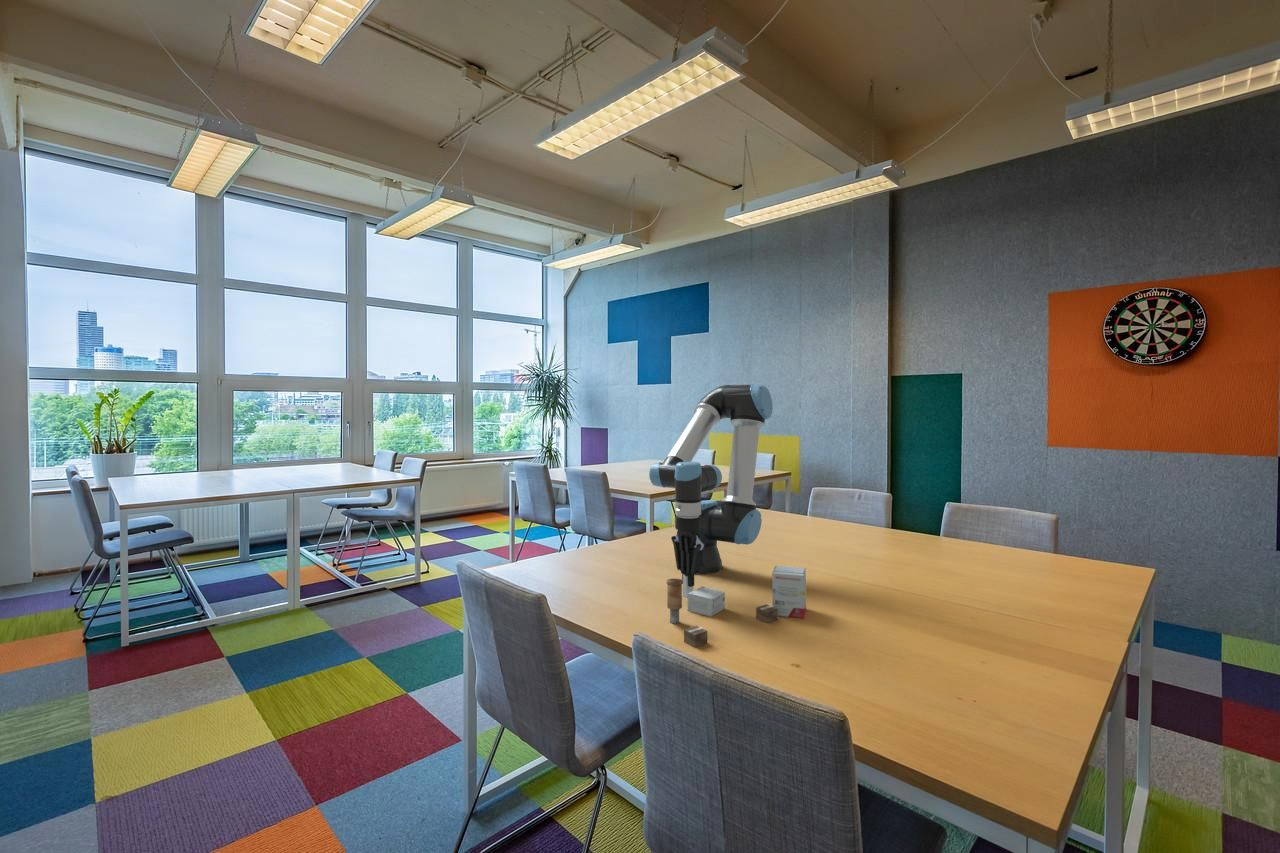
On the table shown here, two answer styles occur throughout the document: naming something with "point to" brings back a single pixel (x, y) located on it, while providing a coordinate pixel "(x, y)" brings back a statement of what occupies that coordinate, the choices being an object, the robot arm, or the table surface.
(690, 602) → the small box
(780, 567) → the ink box
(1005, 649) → the table surface
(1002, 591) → the table surface
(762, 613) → the joist marker
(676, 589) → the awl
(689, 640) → the joist marker
